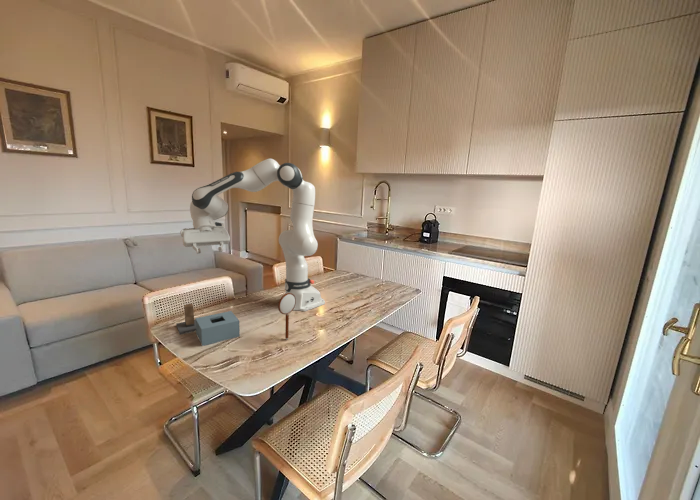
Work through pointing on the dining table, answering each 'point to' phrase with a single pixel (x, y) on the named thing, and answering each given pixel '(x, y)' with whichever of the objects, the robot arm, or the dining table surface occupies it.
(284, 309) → the magnifying glass
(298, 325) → the dining table surface
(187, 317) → the upright wooden post
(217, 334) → the box
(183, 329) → the pad
